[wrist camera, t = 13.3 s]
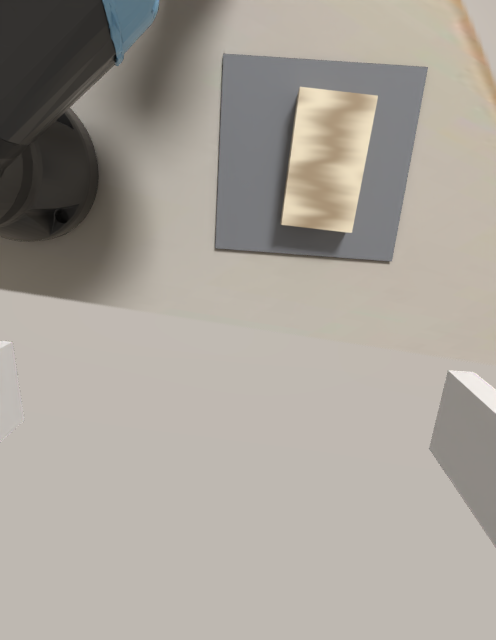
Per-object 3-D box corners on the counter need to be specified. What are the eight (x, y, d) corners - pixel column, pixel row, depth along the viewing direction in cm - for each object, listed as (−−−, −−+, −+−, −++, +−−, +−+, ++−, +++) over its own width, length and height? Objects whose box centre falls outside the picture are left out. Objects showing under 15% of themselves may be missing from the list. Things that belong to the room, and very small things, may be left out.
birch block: (281, 224, 37) (300, 86, 33) (280, 223, 39) (297, 94, 35) (351, 233, 37) (378, 95, 33) (346, 231, 39) (370, 102, 35)
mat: (215, 247, 40) (215, 248, 40) (223, 54, 35) (223, 53, 35) (390, 260, 40) (391, 261, 40) (426, 68, 35) (427, 67, 34)
